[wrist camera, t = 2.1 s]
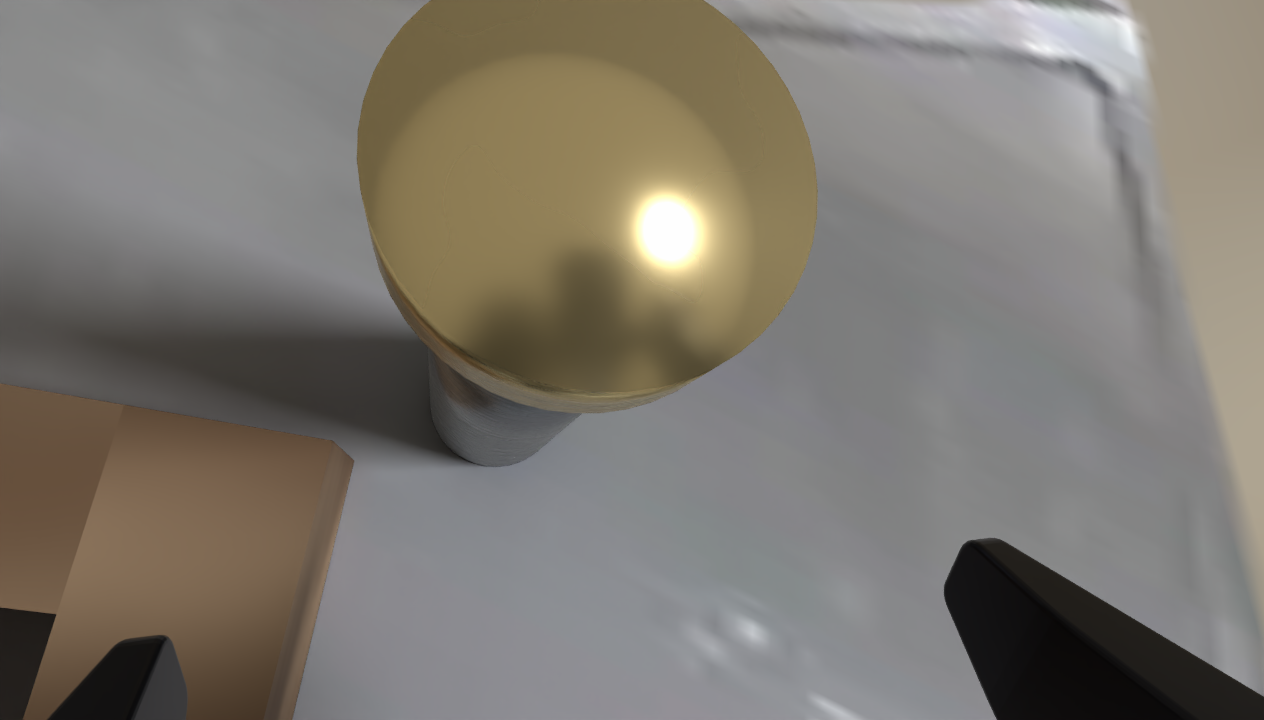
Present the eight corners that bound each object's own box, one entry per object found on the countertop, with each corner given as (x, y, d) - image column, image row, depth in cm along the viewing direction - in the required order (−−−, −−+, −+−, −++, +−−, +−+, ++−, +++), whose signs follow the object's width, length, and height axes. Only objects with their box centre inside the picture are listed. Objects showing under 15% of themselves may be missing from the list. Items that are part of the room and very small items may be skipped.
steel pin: (563, 500, 19) (796, 432, 7) (391, 471, 19) (299, 335, 6) (590, 339, 20) (834, 30, 8) (429, 306, 20) (416, -101, 7)
